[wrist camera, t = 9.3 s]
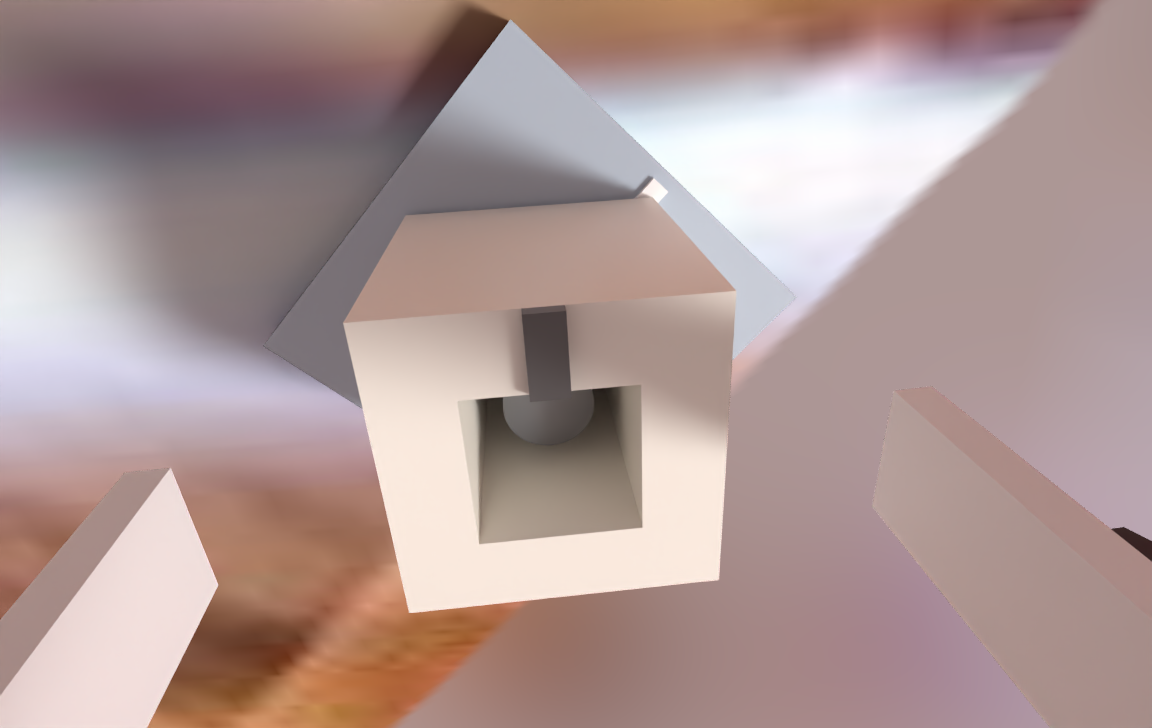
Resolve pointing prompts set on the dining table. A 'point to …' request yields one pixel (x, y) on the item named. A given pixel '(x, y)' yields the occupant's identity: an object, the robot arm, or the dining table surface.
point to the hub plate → (505, 180)
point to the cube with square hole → (546, 372)
